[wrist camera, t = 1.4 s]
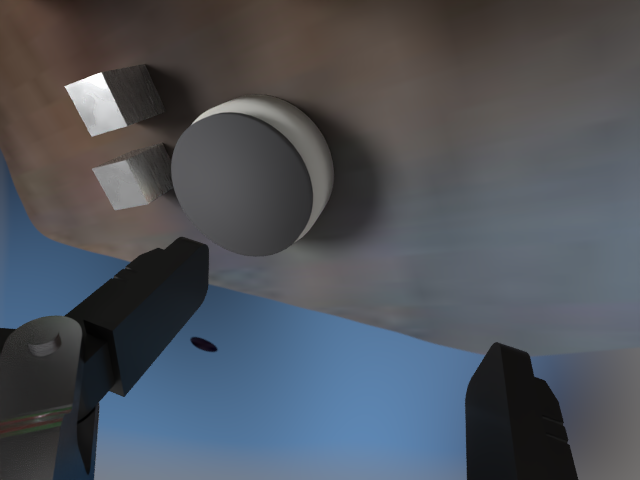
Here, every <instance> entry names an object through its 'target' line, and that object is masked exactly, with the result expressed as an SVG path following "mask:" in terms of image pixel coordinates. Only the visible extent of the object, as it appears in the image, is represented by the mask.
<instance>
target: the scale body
mask: <svg viewBox="0 0 640 480" xmlns="http://www.w3.org/2000/svg"><path fill="white" fill-rule="evenodd" d="M224 112H235V113H243V114H247V115H251V116H253V117H256V118H258V119H261V120H263V121H265V122H266V123H268V124H270V125H271V126H273V127H274V128H276V129H277V130H278V131H280V132H281V133H282V134H283V135H284V136H285V137H286V138H287V139H288V140H289V141H290V142H291V143H292V144H293V146H294V147H295V148H296V150H297V151H298V152H299V154H300V155H301V157H302V159H303V161H304V163H305V165H306V167H307V170H308V172H309V175H310V179H311V183H312V189H313V206H312V212H311V215H310V219H309V221H308V223H307V225H306V227H305V229H304V230H303V232H302V233H301V234H300V236H299V237H298V239H297V240H296V241H298V240H299V239H301V238H302V237H303V236H304V235H305V234H306V233H307V232H308V231H309V230H310V229H311V227H312V226H313V224H314V223H315V221H316V220H317V218H318V217H319V215H320V214H321V212H322V211H323V209H324V208H325V206H326V205H327V203H328V201H329V199H330V196H331V193H332V189H333V183H334V166H333V160H332V156H331V152H330V150H329V147H328V144H327V142H326V140H325V138H324V136H323V135H322V133H321V132H320V130H319V129H318V127H317V126H316V125H315V124H314V122H313V121H312V120H311V119H310V118H309V117H308V116H307V115H306V114H305V113H304V112H302V111H301V110H300V109H298V108H297V107H295V106H294V105H292V104H290V103H288V102H287V101H284V100H282V99H279V98H277V97H273V96H268V95H259V94H254V95H246V96H241V97H238V98H235V99H233V100H231V101H228V102H226V103H223V104H221V105H219V106H216V107H214V108H211V109H209V110H208V111H206V112H204V113H203V114H201V115H200V116H199V117H198V118H197V119H196V120H195V121H194V122H193V123H192V124H194V123H195V122H197V121H199V120H201V119H203V118H205V117H208V116H210V115H213V114H218V113H224ZM296 241H295V242H296Z"/></svg>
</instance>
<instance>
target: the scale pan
mask: <svg viewBox="0 0 640 480" xmlns="http://www.w3.org/2000/svg"><path fill="white" fill-rule="evenodd" d="M171 174H172V182H173V187H174V190H175V193H176V196H177V199H178V201H179V203H180V205H181V207H182V209H183V211H184V212H185V214H186V215H187V217H188V218H189V220H190V221H191V222H192V223H193V225H194V226H195V227H196V228H197V229H198V230H199V231H200V232H201V233H202V234H203V235H204V236H206V237H207V238H208V239H209V240H211V241H212V242H214V243H215V244H217V245H219V246H220V247H222V248H224V249H226V250H229V251H231V252H234V253H237V254H241V255H246V256H267V255H272V254H275V253H278V252H281V251H282V250H284V249H286V248H288V247H289V246H290V245H292V244H293V243H294V242H295V241H296V240H297V239H298V237H299V236H300V234H301V233H302V232H303V230H304V229H305V227H306V225H307V223H308V221H309V219H310V215H311V212H312V206H313V189H312V183H311V179H310V175H309V172H308V170H307V167H306V165H305V163H304V161H303V159H302V157H301V155H300V154H299V152H298V151H297V150H296V148H295V147H294V146H293V144H292V143H291V142H290V141H289V140H288V139H287V138H286V137H285V136H284V135H283V134H282V133H281V132H280V131H278V130H277V129H276V128H274V127H273V126H271V125H270V124H268V123H266V122H265V121H263V120H261V119H258V118H256V117H253V116H251V115H247V114H243V113H235V112H224V113H218V114H213V115H210V116H208V117H205V118H203V119H201V120H199V121H197V122H195V123H194V124H192V125H191V126H190V127H189V128H187V129H186V130H185V131H184V133H183V134H182V135H181V136H180V138H179V140H178V142H177V144H176V146H175V149H174V152H173V156H172V163H171Z"/></svg>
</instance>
